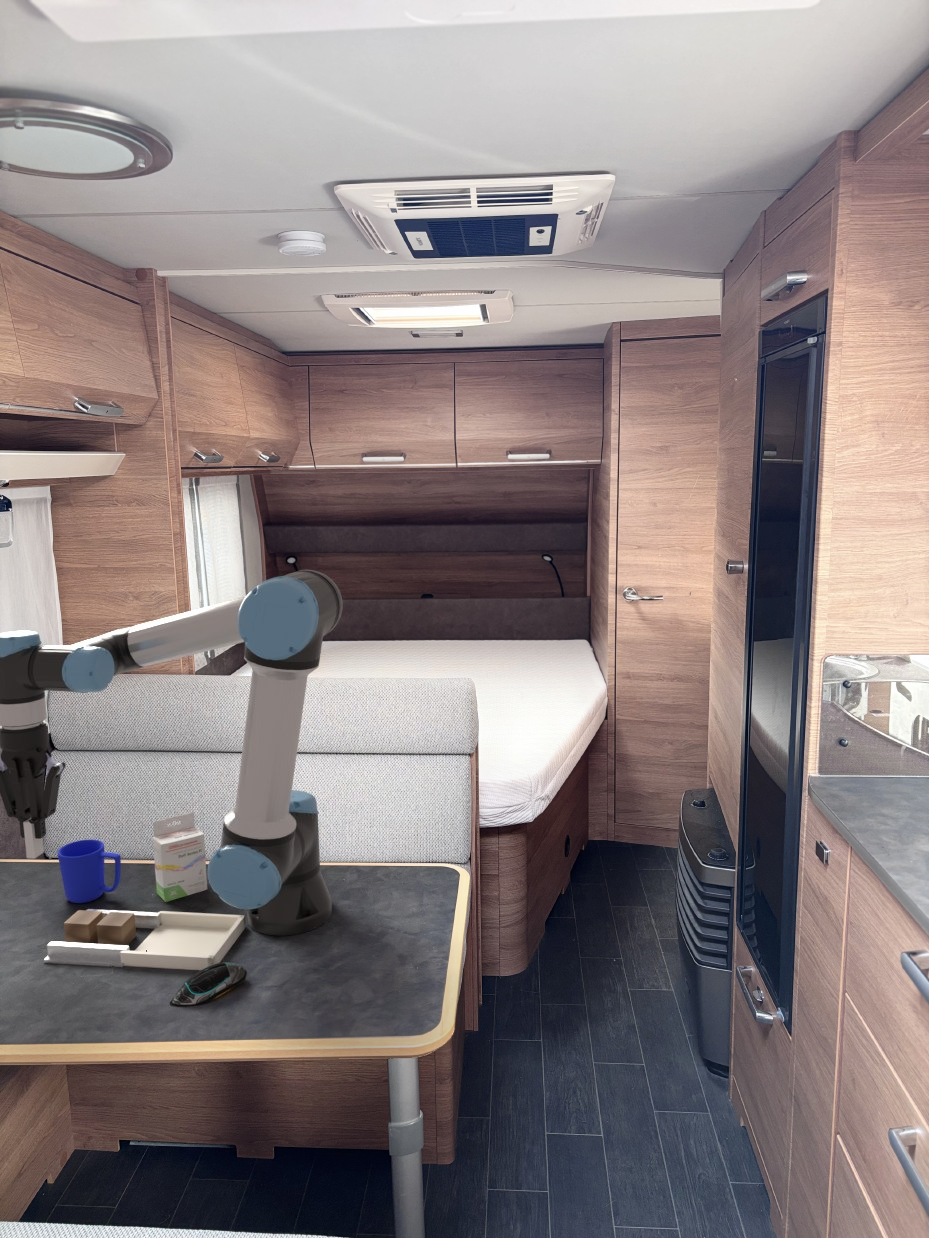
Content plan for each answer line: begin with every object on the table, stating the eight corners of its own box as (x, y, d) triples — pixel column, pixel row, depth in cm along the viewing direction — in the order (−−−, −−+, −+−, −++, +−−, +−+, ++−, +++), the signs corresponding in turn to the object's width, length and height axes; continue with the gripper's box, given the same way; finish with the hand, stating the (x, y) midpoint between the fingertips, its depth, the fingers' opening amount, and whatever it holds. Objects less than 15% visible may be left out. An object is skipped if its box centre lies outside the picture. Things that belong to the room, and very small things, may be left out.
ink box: (164, 903, 167) (158, 829, 165) (156, 893, 171) (150, 821, 169) (209, 890, 172) (203, 818, 170) (199, 880, 176) (194, 810, 174)
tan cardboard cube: (136, 936, 156) (134, 913, 155) (123, 950, 151) (121, 926, 150) (112, 935, 156) (110, 911, 155) (98, 949, 152) (96, 924, 151)
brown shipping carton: (104, 935, 156) (102, 911, 156) (90, 948, 152) (88, 924, 151) (80, 933, 157) (78, 910, 156) (66, 947, 153) (63, 922, 152)
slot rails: (164, 922, 160) (163, 909, 160) (122, 967, 146) (121, 953, 145) (92, 918, 162) (91, 905, 162) (44, 962, 148) (42, 948, 147)
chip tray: (245, 927, 158) (245, 915, 157) (213, 971, 144) (212, 958, 144) (161, 923, 160) (160, 910, 159) (121, 965, 146) (120, 952, 146)
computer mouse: (164, 996, 138) (162, 972, 137) (240, 971, 144) (239, 948, 144) (175, 1016, 133) (173, 991, 132) (254, 990, 139) (252, 965, 138)
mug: (110, 910, 165) (105, 860, 163) (52, 905, 167) (47, 855, 166) (135, 890, 173) (130, 841, 171) (79, 885, 175) (75, 837, 174)
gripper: (71, 718, 152) (82, 847, 156) (1, 715, 153) (14, 844, 157) (45, 730, 144) (57, 866, 148) (-28, 728, 146) (-14, 862, 150)
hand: (35, 854), depth 153 cm, fingers closed
